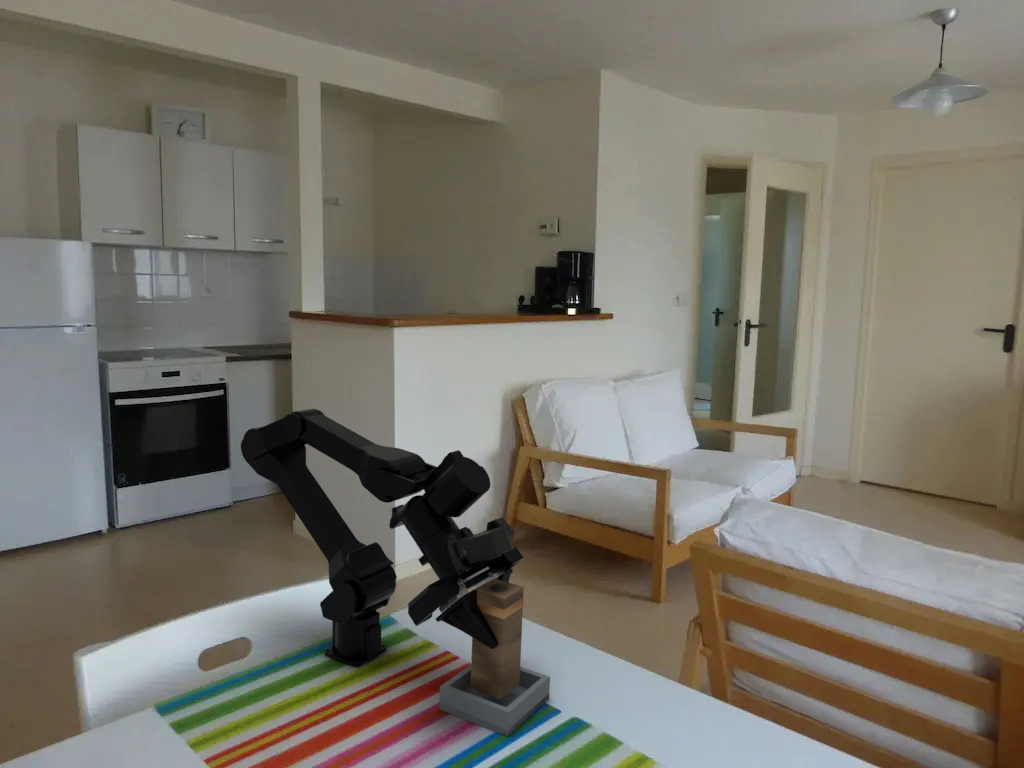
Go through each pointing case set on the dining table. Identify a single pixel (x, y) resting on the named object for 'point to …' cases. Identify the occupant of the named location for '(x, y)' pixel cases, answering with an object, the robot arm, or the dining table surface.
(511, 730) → the tray
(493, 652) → the block
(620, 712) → the dining table surface
